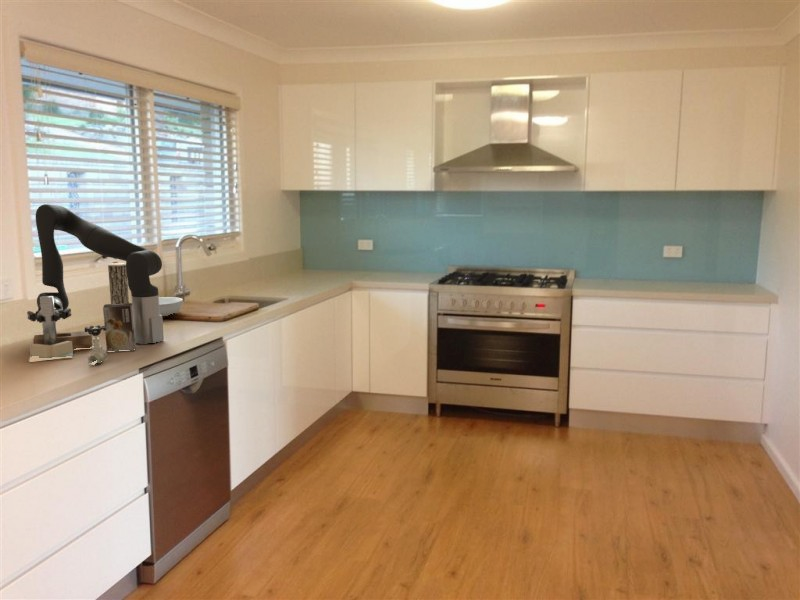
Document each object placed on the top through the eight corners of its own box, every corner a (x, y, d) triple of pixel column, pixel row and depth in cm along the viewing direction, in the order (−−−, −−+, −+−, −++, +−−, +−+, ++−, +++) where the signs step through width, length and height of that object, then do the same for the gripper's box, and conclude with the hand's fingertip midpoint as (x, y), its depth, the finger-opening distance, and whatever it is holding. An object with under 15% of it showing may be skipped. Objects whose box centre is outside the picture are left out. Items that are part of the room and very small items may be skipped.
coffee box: (136, 347, 242) (133, 302, 239) (134, 351, 235) (131, 305, 233) (108, 348, 239) (104, 303, 236) (106, 353, 233) (102, 307, 230)
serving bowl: (191, 311, 306) (190, 296, 305) (171, 321, 285) (170, 305, 284) (147, 311, 308) (146, 296, 307) (124, 320, 287) (122, 304, 286)
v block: (31, 355, 230) (29, 342, 229) (73, 351, 235) (72, 338, 234) (28, 362, 221) (27, 349, 220) (73, 358, 226) (72, 345, 225)
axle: (60, 348, 230) (55, 296, 227) (51, 351, 227) (46, 298, 223) (51, 347, 231) (46, 295, 228) (41, 350, 228) (36, 297, 224)
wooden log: (111, 326, 275) (106, 265, 270) (113, 323, 281) (109, 263, 277) (129, 325, 276) (125, 264, 272) (131, 322, 283) (127, 262, 278)
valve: (112, 360, 223) (109, 325, 221) (104, 366, 217) (101, 329, 215) (91, 361, 223) (88, 325, 221) (83, 366, 216) (80, 329, 214)
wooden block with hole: (92, 344, 246) (91, 330, 245) (92, 349, 239) (91, 335, 238) (36, 349, 238) (34, 335, 238) (34, 354, 231) (33, 340, 230)
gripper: (26, 300, 236) (22, 309, 221) (72, 297, 242) (70, 306, 227) (28, 321, 238) (24, 332, 222) (73, 318, 243) (72, 328, 228)
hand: (48, 319), depth 225 cm, fingers closed on axle, 4 cm apart
